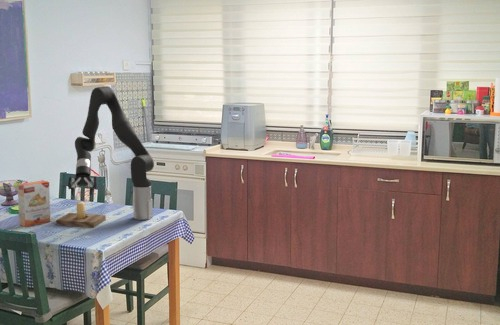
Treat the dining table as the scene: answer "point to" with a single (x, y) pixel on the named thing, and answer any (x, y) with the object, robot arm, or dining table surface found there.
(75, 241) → the dining table surface
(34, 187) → the cracker box
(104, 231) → the dining table surface
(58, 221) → the walnut pocket board
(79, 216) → the ochre peg
